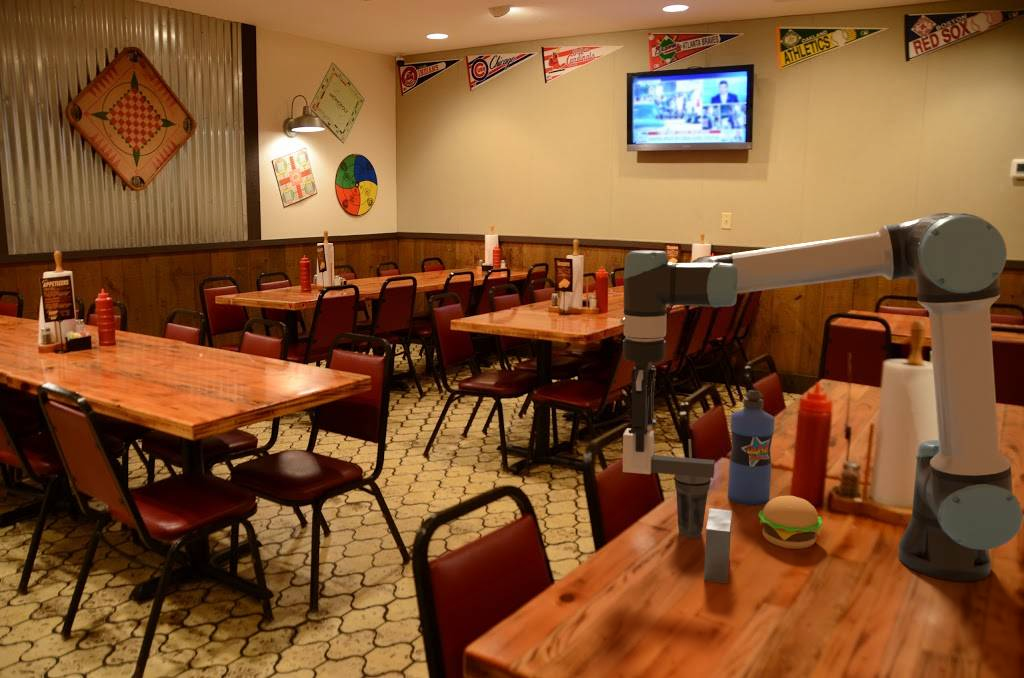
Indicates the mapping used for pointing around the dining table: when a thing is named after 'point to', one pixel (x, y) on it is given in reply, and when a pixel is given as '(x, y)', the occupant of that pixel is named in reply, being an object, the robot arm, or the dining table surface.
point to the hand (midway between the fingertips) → (642, 463)
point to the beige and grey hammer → (665, 461)
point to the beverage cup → (691, 502)
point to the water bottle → (750, 452)
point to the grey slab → (717, 545)
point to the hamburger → (790, 522)
